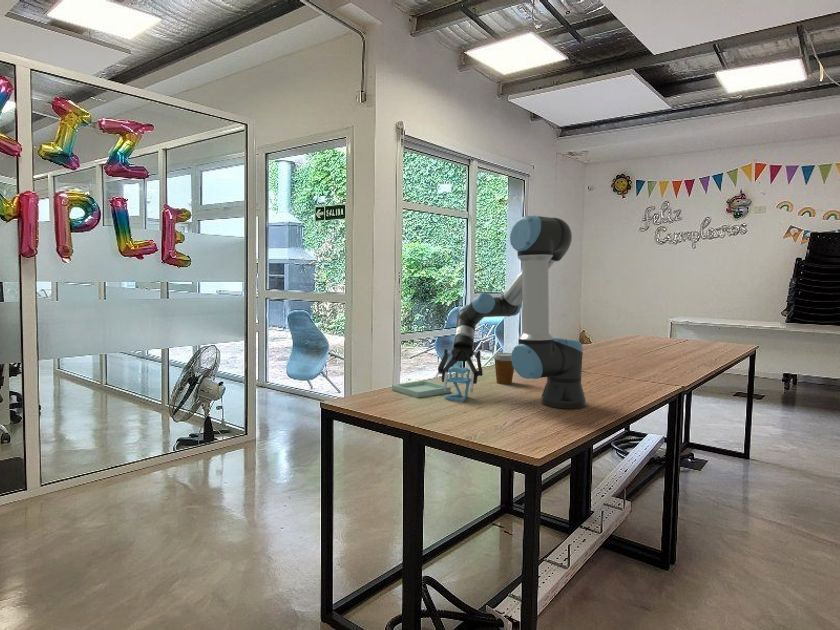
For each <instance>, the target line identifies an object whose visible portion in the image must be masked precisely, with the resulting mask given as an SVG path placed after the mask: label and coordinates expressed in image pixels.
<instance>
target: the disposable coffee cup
mask: <svg viewBox="0 0 840 630" xmlns="http://www.w3.org/2000/svg"><path fill="white" fill-rule="evenodd" d="M511 354H512V352H511V353H510V352H496V353H494V355H493V356H492V358H493V360H494V367H495V369H494V370H495V377H496V380H495V381H496V384H500V385H510V384H511V385H512V384H513V377H514V371H515V369H514V367H513V365H512V361H511Z"/></svg>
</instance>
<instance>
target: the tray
mask: <svg viewBox="0 0 840 630" xmlns="http://www.w3.org/2000/svg"><path fill="white" fill-rule="evenodd" d="M443 385H444V384H441V383H436V382H434V381H428V380H425V379H423V380H417V381H409V382H402V383H396V384H391V391H393V392H397V393H399V394H403V393H404V395H406V394H407V396H409V397H410V396H411V397H414V398H416V399H419V398H426V397H430V396H431V397H432V396H437V395H443V394H449V393H451V390H452V389H451V388H452V387H451V386H450V385H449V386H448V385H447V387H446V391H444V389H443Z"/></svg>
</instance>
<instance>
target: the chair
mask: <svg viewBox="0 0 840 630" xmlns="http://www.w3.org/2000/svg"><path fill="white" fill-rule="evenodd" d="M448 371H449V372H448V375H449V377H448V379H447V383H453V385H454V387H455V388H456V391H457V393H454V394H450V395H444V400H448V401H454V402H455V401H456V402H465V401H466V400H467V398H468V396H469V395H468V394H469V388H470V385H471V378H470V373H471V368H468V367H459V366H456V365H453V366H452V367H450V368H449V370H448ZM452 373H455V376H454V377H453V375H452ZM465 373H467V374H466V377H464V374H465ZM459 374H461V375H460V376H461V377H460V376H459ZM458 384H462V385H463V384H464V385H465V391H464V395H463V393H462V391H461V389H460V388H459V385H458ZM462 395H463V397H462ZM461 397H462V398H461Z"/></svg>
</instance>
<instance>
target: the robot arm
mask: <svg viewBox="0 0 840 630" xmlns="http://www.w3.org/2000/svg"><path fill="white" fill-rule="evenodd" d="M572 237H573V234H572V231H571V227H570V226H569V224H568V223H567V222H566V221H565V220H563V219H561V218H557V217H550V216H549V217H548V216H540V215H525V216H521V217H520V218H518V219H517V220H516V221H515V222H514V224H513V225H512V227H511V230H510V233H509V242H510V245H511V247H512V248H513V249H514V250H515V251H516V252H517V258H518V259H519V261H521V270H520V271H519V273H518V274H517V275H516V277H515V278H514V280H513V281H511V283H510V284H509V286H508V287H507V288H506V290H505V291H504V292H503V293H502V294H501V296H499V297H493V295H492V294H490V293H487V292H480V293H479V294H478V295H477V296H475V297H474V298H473V300H471V302H470V303H469V304H464V305H463V306H460V307H459V309H458V312H457V316H456V325H455V332H454V341H453V347H452V349H451V350H448V349H444V350H443V351H444V353H443V355H442V359H441V360H440V363H439V364H438V368H437V371H438V373H437V374H439V375H441V382H442V383H443V384H442V385H443V389H444V391H446V387H447V386H448V382H447V379H449V371H448V370H449V368H450V367H452V366H455V364H456V363H458V362H467V364H468V366H469V369H470V371H471V377H470V379H471V381H470V385H469V388H470V393H473V392H474V384H475V385H477V383H478V377H482V376H483V375H484V374H483V367H482V363H481V362H482V361H481V357H482V355H481V354H482V353H481V350H477V351H474V344H475V343H474V342H475V336H476V335H475V333H476V326H477V325H478V324H479V322H481V321H482V320H483V319H484V318H495V317H498V318H499V317H501V318H503V317H506V318H507V317H514V316H517V315H518V314H520V312H521V309H522V334H521V335H520V336H519V337H518V338H517V339H518V343H517V345H516V346H514V347H513V350H512V351H511V353H512V354H511V361H512V365H513V367H514V371H515V372H516V373H517V375H519V376H520V377H521V378H523V379H526V380H529V379H531V380H532V379H533V380H537V379H540V378H546V382H545V386H544V388H543V392H542V394H541V397H540V398H541V401H540V403H541V404H542V405H544V406H547V407H552V408H556V409H563V410H564V409H565V410H569V409H570V410H571V409H573V410H575V409H582V408H584V406H585V405H586V404H587V403H586V402H587V400H586V397H585V392H584V388H583V385H582V373H583V371H582V370H583V369H582V368H583V354H584V353H583V344H582V342H581V341H579V340H574V339H566V338H558V337H554V336H552V335H551V334H550V327H549V325H550V322H549V321H550V319H549V313H550V311H549V309H550V308H549V307H550V306H549V269H551V267H552V266H553V265H554V264H555V263H556V262H560V261H561V260H562V259H563V257H564V256H565V255H566V253H567V252H568V251H569V248H570V246H571V245H572ZM521 303H522V304H521ZM451 355H452V356H451ZM450 356H451V359H450V360H448V359H449V358H450ZM473 356H474V357H475V358H476V362H477V363H476V364H477V368H476V366H475V364H474V362H473V360H472V359H471V358H473ZM447 361H448V362H447ZM586 406H587V405H586ZM586 406H585V407H586Z"/></svg>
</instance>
